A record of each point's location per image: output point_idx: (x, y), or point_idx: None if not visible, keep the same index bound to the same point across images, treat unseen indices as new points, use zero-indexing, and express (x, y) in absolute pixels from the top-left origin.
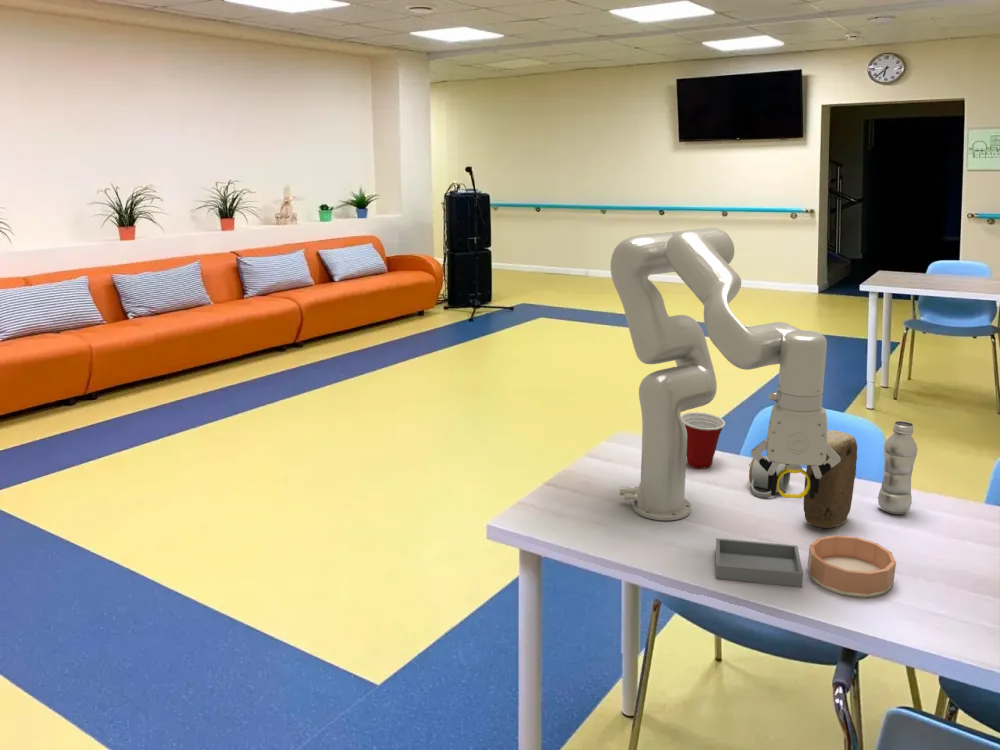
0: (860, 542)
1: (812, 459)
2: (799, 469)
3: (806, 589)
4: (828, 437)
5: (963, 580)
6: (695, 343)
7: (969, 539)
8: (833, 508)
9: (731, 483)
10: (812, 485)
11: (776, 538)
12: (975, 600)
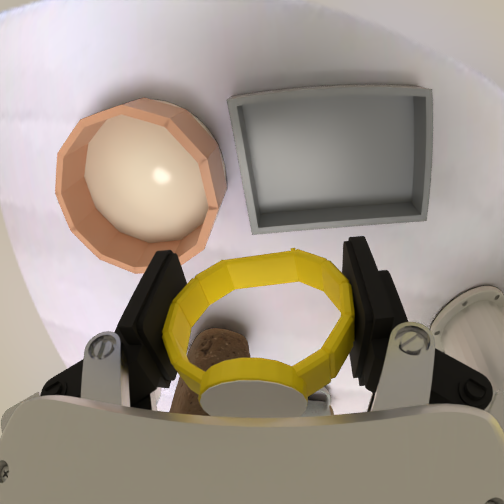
0: (128, 260)
1: (61, 447)
2: (208, 387)
3: (222, 90)
4: None
5: (26, 231)
6: None
7: (59, 328)
8: (195, 355)
9: (353, 400)
10: (144, 296)
11: (296, 284)
12: (5, 182)
